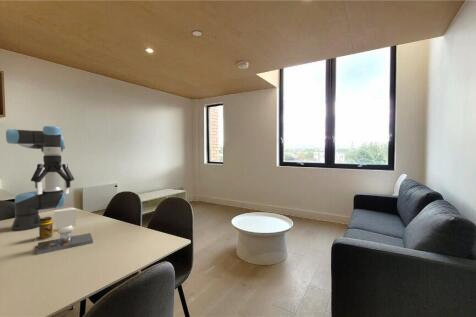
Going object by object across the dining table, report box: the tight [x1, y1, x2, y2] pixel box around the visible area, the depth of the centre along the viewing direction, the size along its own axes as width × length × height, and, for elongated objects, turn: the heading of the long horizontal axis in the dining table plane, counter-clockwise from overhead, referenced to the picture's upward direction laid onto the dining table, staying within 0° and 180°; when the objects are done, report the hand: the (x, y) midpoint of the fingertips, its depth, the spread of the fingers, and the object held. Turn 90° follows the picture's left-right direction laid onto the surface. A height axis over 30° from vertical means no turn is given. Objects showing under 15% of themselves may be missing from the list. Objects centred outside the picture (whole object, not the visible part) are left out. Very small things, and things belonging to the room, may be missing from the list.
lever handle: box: [53, 207, 77, 234], centre depth 125 cm, size 10×7×12 cm
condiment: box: [33, 216, 55, 242], centre depth 135 cm, size 7×8×12 cm
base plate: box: [35, 231, 94, 255], centre depth 126 cm, size 14×24×7 cm, turn 128°
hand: (53, 194), depth 123 cm, fingers open, 13 cm apart
